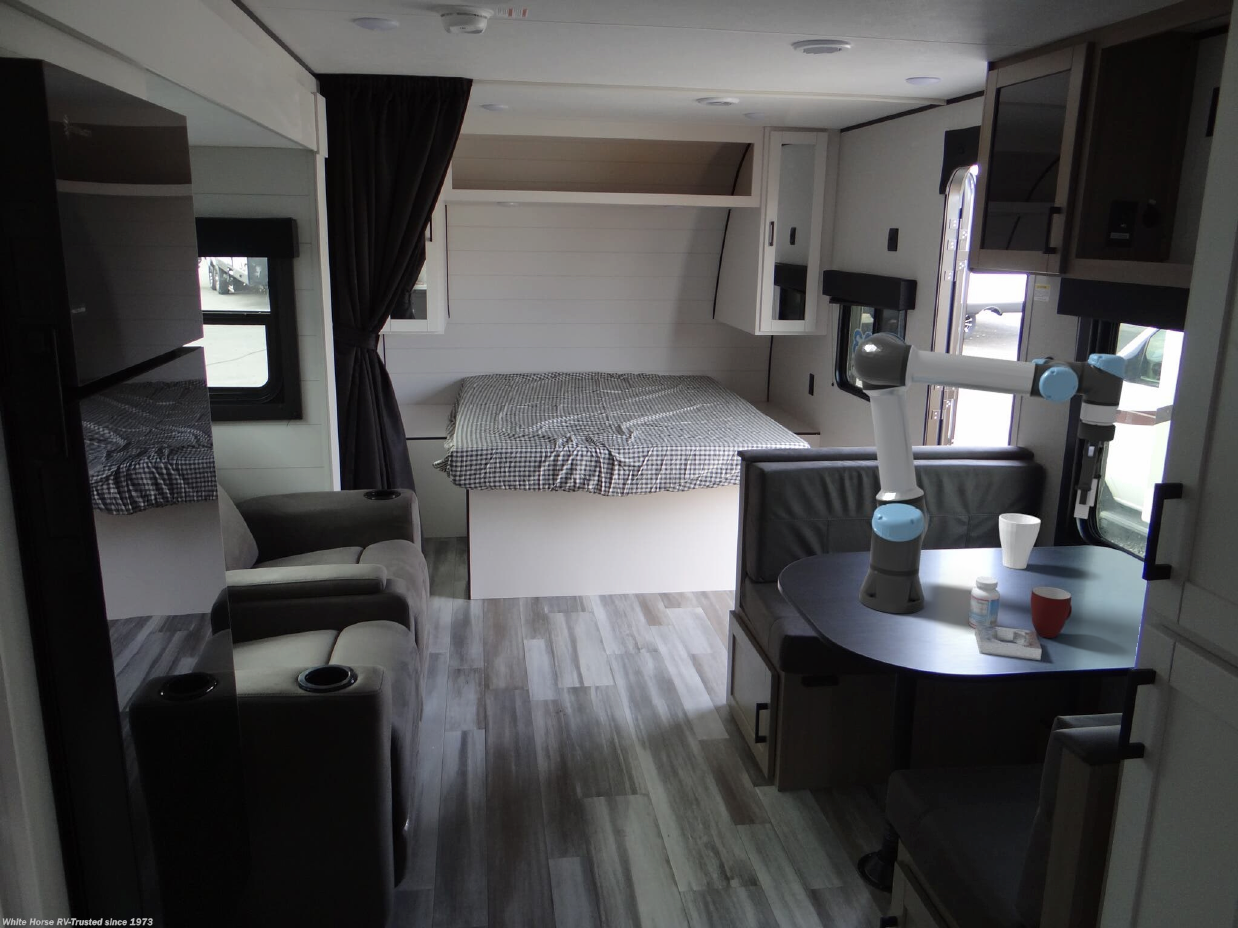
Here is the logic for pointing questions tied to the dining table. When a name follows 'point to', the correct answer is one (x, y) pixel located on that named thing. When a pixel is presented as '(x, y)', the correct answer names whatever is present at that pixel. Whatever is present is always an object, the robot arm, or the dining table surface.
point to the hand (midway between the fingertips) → (1083, 511)
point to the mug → (1049, 610)
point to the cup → (1017, 538)
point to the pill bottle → (984, 602)
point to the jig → (1023, 638)
